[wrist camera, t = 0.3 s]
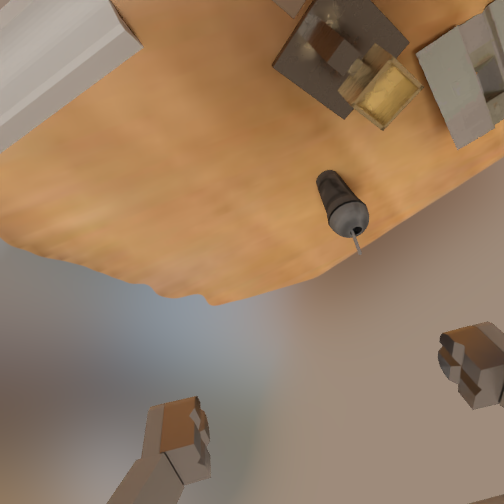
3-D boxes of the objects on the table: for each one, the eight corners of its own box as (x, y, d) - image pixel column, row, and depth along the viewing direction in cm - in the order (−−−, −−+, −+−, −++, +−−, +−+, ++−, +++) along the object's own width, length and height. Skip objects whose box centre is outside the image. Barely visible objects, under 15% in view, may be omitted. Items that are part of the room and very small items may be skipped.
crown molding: (73, -53, 39) (67, -49, 37) (145, 47, 47) (144, 56, 45) (-96, 97, 46) (-110, 108, 44) (-8, 160, 55) (-16, 173, 52)
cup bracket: (335, -35, 44) (379, -16, 35) (406, 40, 52) (455, 71, 44) (271, 65, 51) (294, 101, 43) (342, 117, 60) (373, 156, 51)
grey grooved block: (390, 78, 61) (436, 160, 62) (413, 53, 51) (468, 150, 52) (485, 16, 59) (531, 102, 60) (528, -22, 49) (582, 80, 50)
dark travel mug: (350, 179, 70) (394, 248, 57) (320, 200, 73) (356, 270, 59) (334, 157, 65) (378, 226, 52) (303, 180, 68) (337, 251, 55)
